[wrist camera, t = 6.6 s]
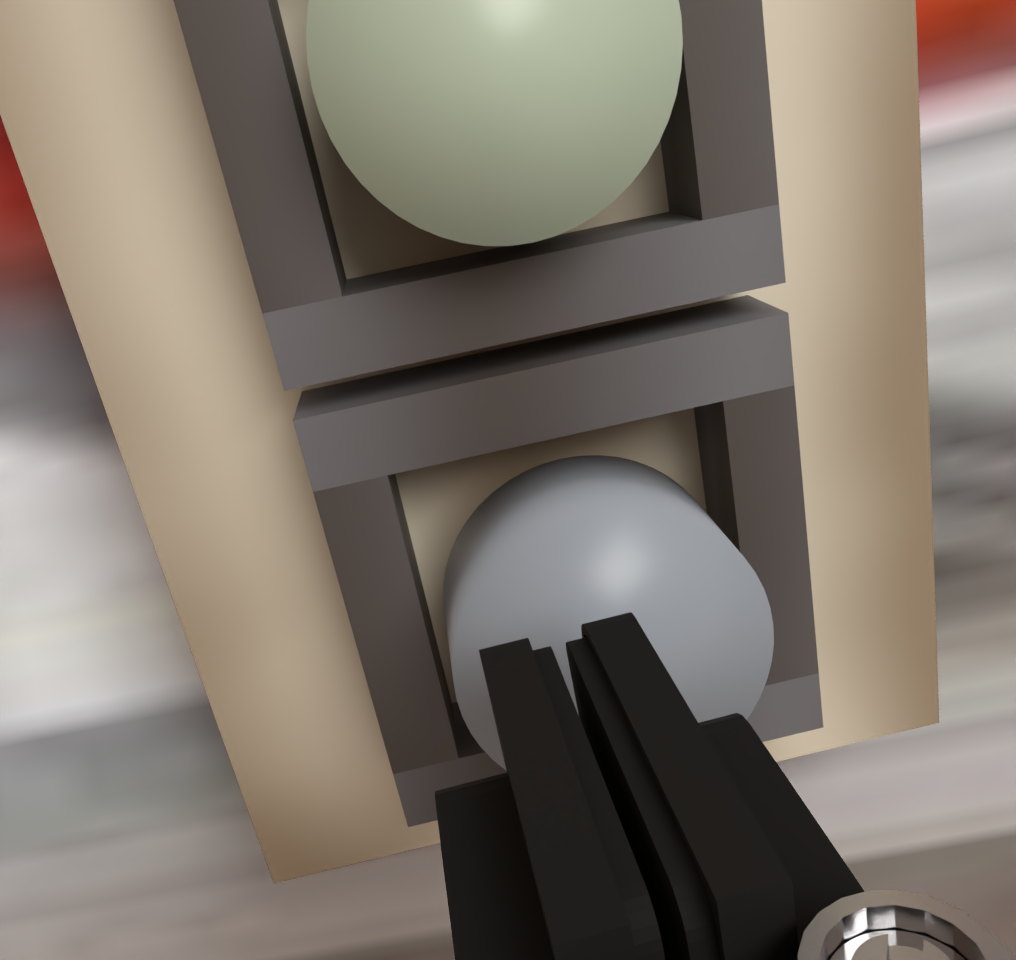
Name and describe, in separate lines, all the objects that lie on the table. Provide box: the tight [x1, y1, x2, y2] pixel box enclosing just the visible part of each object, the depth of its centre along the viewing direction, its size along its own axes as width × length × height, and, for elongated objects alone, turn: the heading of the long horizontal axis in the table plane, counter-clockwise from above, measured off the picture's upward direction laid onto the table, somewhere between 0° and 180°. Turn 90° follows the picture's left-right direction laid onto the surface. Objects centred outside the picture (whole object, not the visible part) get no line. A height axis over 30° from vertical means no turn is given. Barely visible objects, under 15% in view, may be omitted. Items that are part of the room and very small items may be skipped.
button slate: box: [443, 455, 774, 770], centre depth 13 cm, size 4×4×2 cm
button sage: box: [306, 0, 683, 246], centre depth 11 cm, size 4×4×2 cm
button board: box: [0, 0, 939, 883], centre depth 13 cm, size 12×24×4 cm, turn 11°
